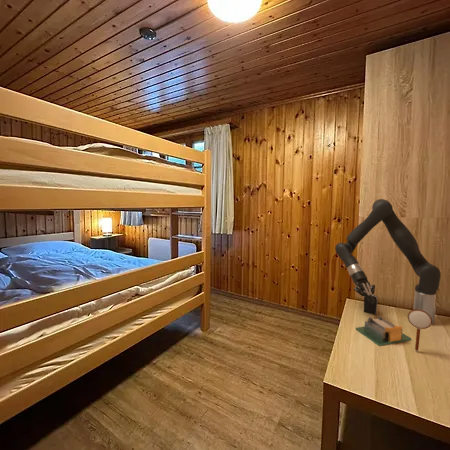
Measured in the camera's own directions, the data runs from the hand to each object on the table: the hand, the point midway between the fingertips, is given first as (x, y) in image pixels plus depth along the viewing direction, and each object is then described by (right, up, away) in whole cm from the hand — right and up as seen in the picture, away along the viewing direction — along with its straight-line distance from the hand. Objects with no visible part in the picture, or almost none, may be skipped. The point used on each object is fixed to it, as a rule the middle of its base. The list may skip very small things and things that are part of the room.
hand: (372, 302), depth 134 cm
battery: (+9, -12, +19) cm, 24 cm away
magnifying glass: (+9, -16, -19) cm, 27 cm away
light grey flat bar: (+2, -10, -6) cm, 12 cm away
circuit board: (+2, -15, -5) cm, 16 cm away
